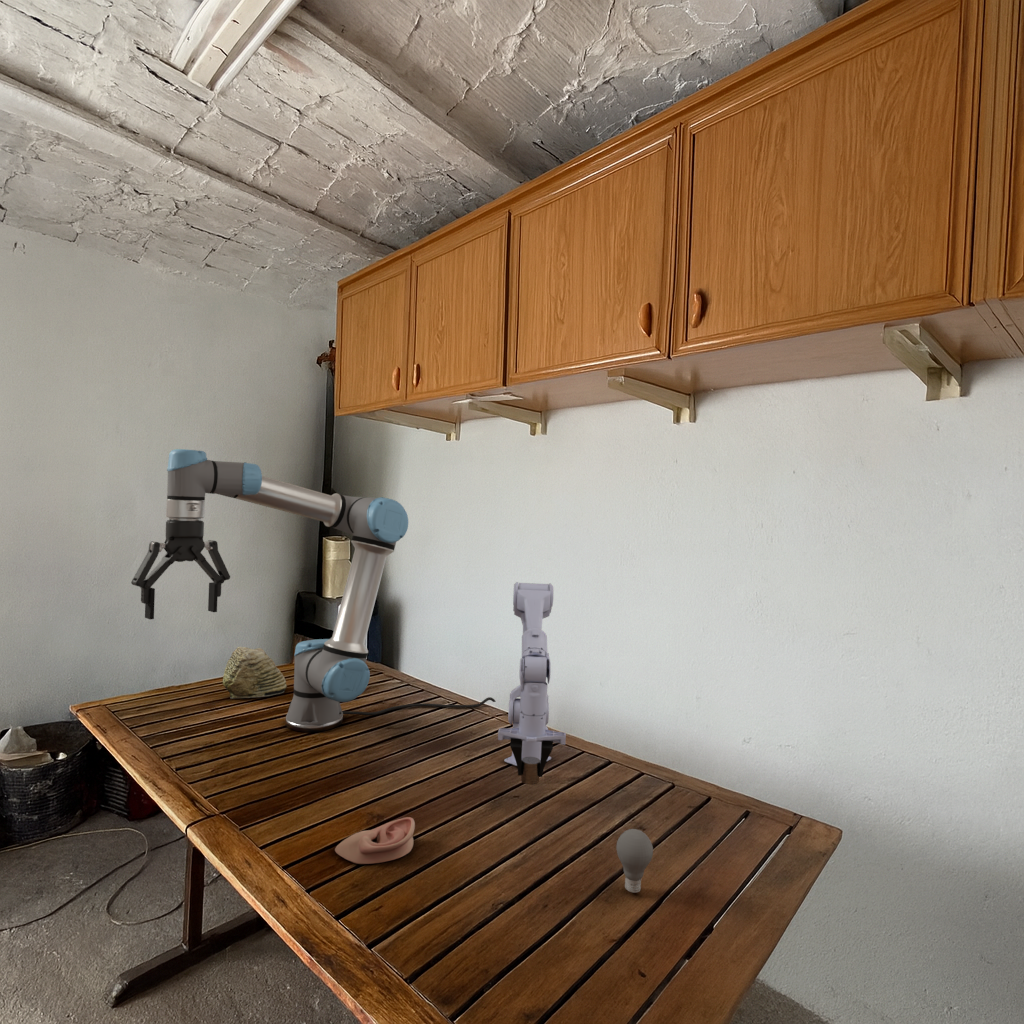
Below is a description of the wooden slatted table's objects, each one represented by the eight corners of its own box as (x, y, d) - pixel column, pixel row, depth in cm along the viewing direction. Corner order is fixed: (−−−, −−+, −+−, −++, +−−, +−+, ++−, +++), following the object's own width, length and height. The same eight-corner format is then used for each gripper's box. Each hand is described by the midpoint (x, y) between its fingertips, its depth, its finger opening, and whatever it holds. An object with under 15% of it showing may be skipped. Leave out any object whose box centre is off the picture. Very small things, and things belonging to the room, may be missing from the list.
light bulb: (610, 879, 108) (613, 822, 108) (644, 879, 109) (647, 822, 109) (619, 902, 102) (622, 840, 102) (655, 901, 103) (658, 840, 103)
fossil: (218, 695, 195) (220, 647, 195) (278, 685, 208) (279, 640, 207) (228, 703, 189) (230, 653, 188) (289, 692, 201) (290, 645, 201)
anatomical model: (327, 836, 111) (356, 806, 122) (326, 858, 111) (355, 826, 122) (398, 848, 108) (421, 815, 119) (397, 871, 108) (420, 836, 119)
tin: (519, 777, 138) (520, 756, 138) (536, 776, 139) (537, 756, 139) (523, 785, 135) (524, 764, 134) (541, 784, 135) (542, 763, 135)
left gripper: (130, 520, 128) (127, 624, 129) (247, 520, 148) (244, 611, 148) (116, 518, 133) (112, 618, 133) (231, 518, 152) (228, 606, 153)
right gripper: (497, 715, 133) (495, 779, 133) (567, 720, 132) (564, 784, 132) (500, 705, 140) (498, 765, 140) (566, 709, 139) (563, 770, 139)
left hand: (182, 614), depth 141 cm, fingers open, 13 cm apart
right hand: (530, 774), depth 137 cm, fingers closed on tin, 4 cm apart
